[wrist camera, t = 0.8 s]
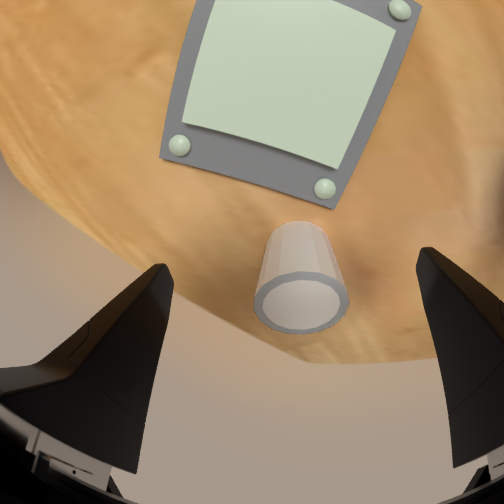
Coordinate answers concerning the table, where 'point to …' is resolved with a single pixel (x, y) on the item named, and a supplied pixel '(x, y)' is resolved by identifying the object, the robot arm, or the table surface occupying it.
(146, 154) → the table surface
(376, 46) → the baseplate
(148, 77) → the table surface
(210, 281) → the table surface
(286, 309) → the shot glass
